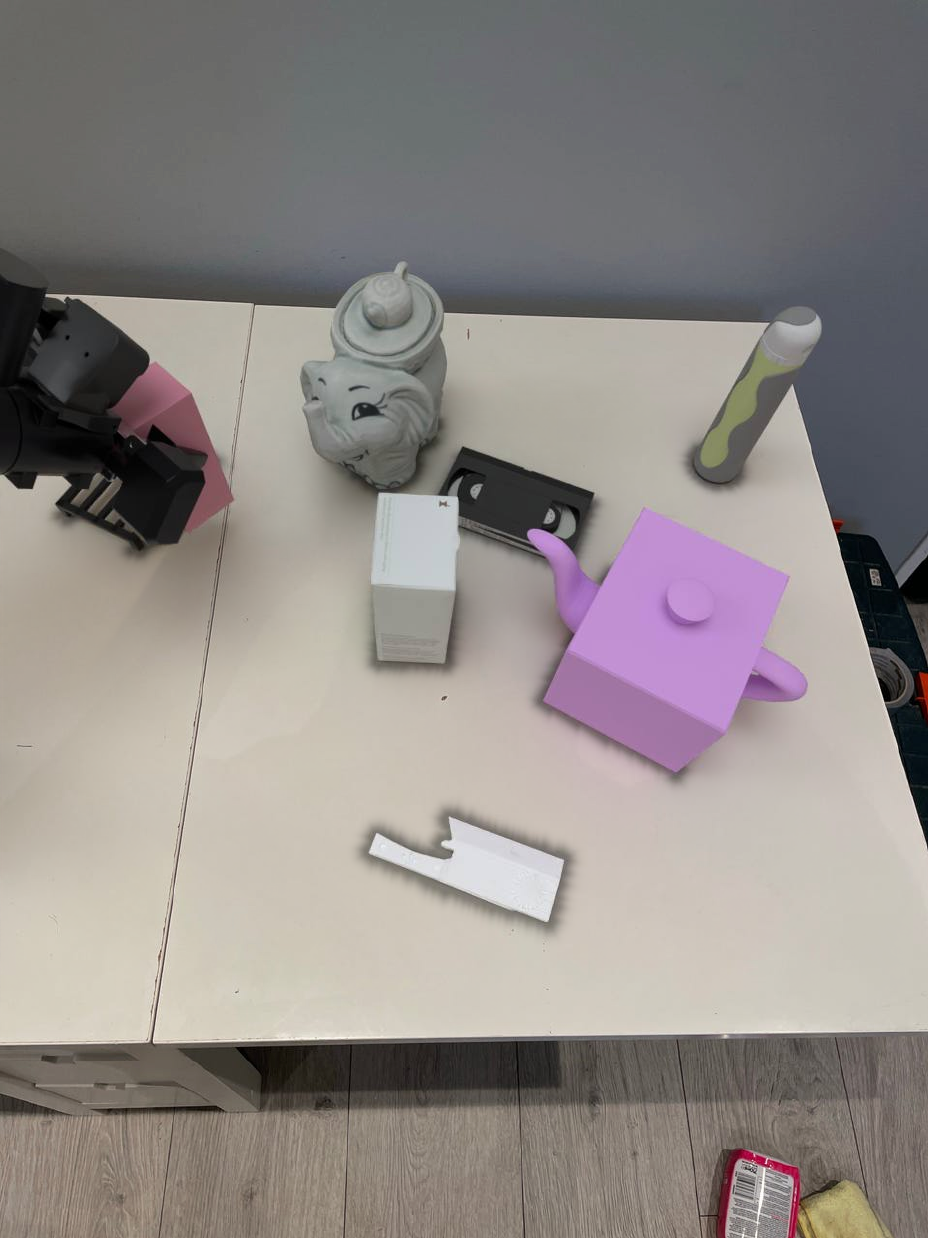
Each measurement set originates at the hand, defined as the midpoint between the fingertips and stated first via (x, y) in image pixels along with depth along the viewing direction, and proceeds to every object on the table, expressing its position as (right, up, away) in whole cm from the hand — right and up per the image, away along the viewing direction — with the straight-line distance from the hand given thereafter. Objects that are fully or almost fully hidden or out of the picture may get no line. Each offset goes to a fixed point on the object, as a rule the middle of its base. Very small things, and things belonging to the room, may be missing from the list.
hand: (186, 443), depth 59 cm
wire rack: (-10, -1, +14) cm, 17 cm away
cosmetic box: (+18, -15, +9) cm, 25 cm away
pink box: (-1, -4, +5) cm, 7 cm away
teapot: (+38, -18, +9) cm, 43 cm away
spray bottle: (+49, +2, +19) cm, 53 cm away
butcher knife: (+23, -34, 0) cm, 40 cm away
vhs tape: (+27, -3, +15) cm, 31 cm away
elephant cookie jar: (+13, +3, +17) cm, 22 cm away
